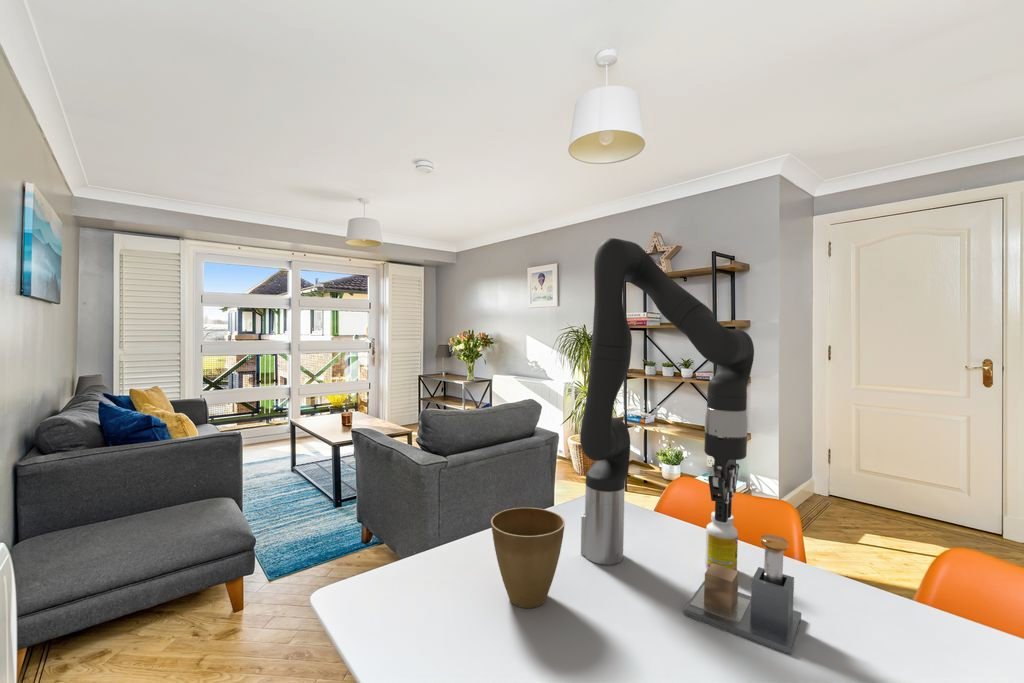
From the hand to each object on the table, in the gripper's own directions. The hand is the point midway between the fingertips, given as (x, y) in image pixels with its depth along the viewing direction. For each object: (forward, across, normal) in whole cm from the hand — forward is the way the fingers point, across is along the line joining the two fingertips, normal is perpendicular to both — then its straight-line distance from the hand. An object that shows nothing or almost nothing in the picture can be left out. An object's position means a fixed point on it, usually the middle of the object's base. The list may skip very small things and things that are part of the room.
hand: (723, 518), depth 94 cm
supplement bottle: (+18, -16, -4) cm, 25 cm away
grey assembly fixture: (+18, 0, +4) cm, 18 cm away
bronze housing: (+17, 0, 0) cm, 17 cm away
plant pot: (+18, +21, -32) cm, 42 cm away
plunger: (+13, 0, +9) cm, 15 cm away
